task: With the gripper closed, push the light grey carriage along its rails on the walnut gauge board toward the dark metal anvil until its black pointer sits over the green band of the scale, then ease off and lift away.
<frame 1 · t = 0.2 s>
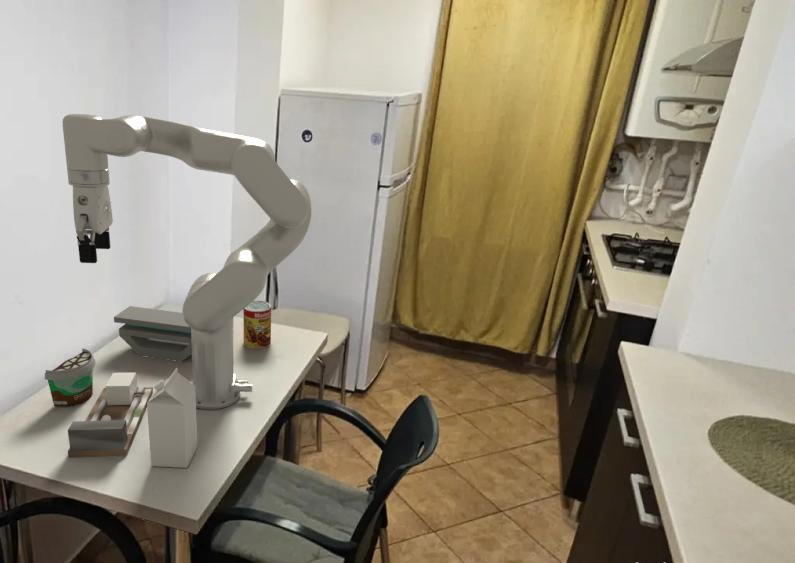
hand: (95, 255, 121), 36 cm above the table, tool pointing down, fingers open, 9 cm apart
gauge carriage: (127, 387, 130), point 4 cm above the table, slide at 0.0 cm
food container: (80, 399, 132), on the table
milk carton: (175, 457, 116), on the table
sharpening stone: (167, 353, 156), on the table
gauge board: (114, 421, 125), on the table
canned food: (257, 343, 166), on the table
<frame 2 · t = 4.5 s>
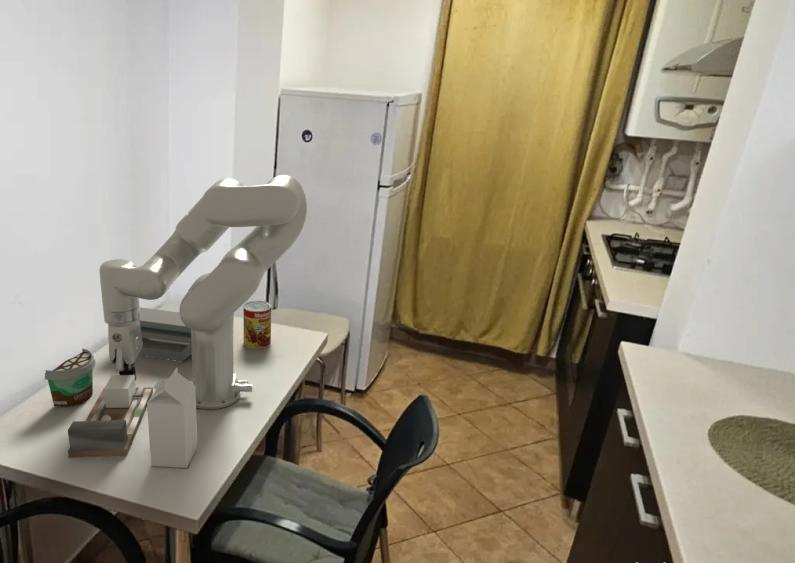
hand: (128, 382, 134), 3 cm above the table, tool pointing down, fingers closed
gauge carriage: (126, 390, 129), point 4 cm above the table, slide at 1.1 cm, touching gripper
everything else where it was.
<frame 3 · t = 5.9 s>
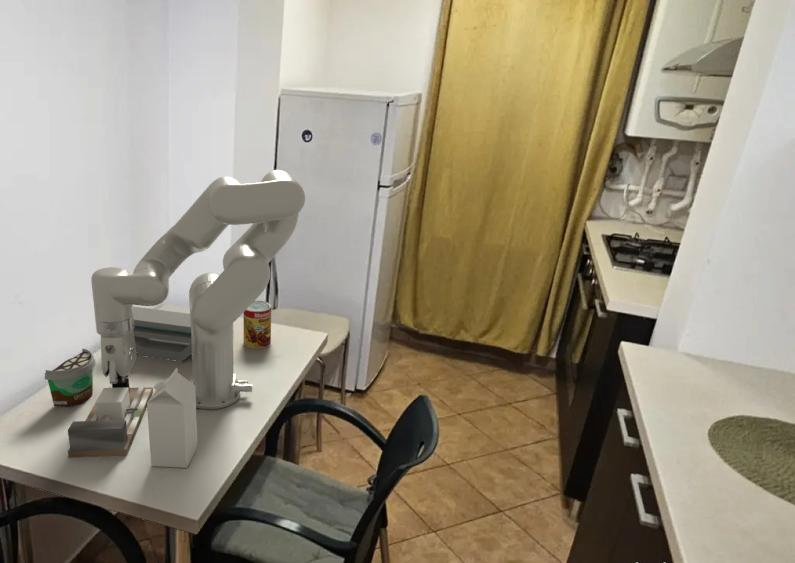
hand: (121, 394, 129), 3 cm above the table, tool pointing down, fingers closed
gauge carriage: (119, 403, 124), point 4 cm above the table, slide at 6.7 cm, touching gripper
everything else where it was.
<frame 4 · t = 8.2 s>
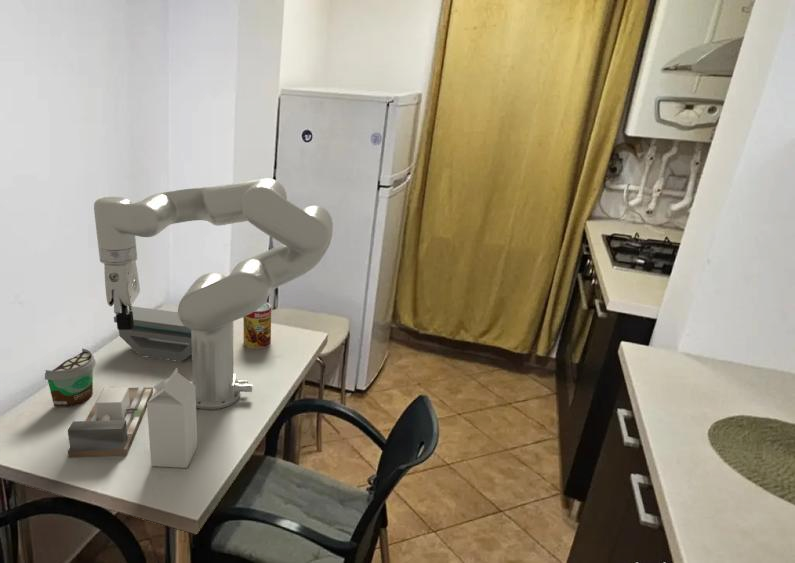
hand: (125, 328, 130), 17 cm above the table, tool pointing down, fingers closed
gauge carriage: (119, 403, 124), point 4 cm above the table, slide at 6.7 cm
everything else where it was.
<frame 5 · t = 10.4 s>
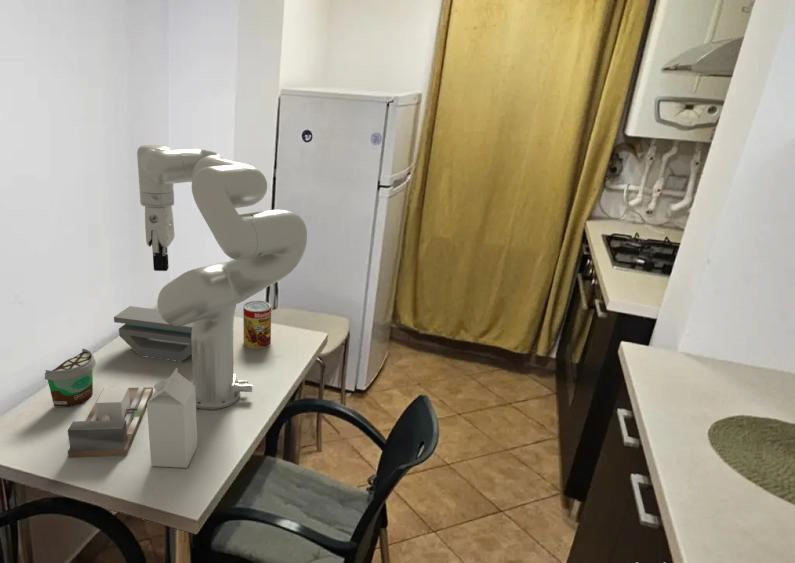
hand: (161, 269, 140), 27 cm above the table, tool pointing down, fingers closed
nothing on the table moved.
at the end: gauge carriage slide at 6.7 cm; food container moved 0.2 cm from its start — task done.
